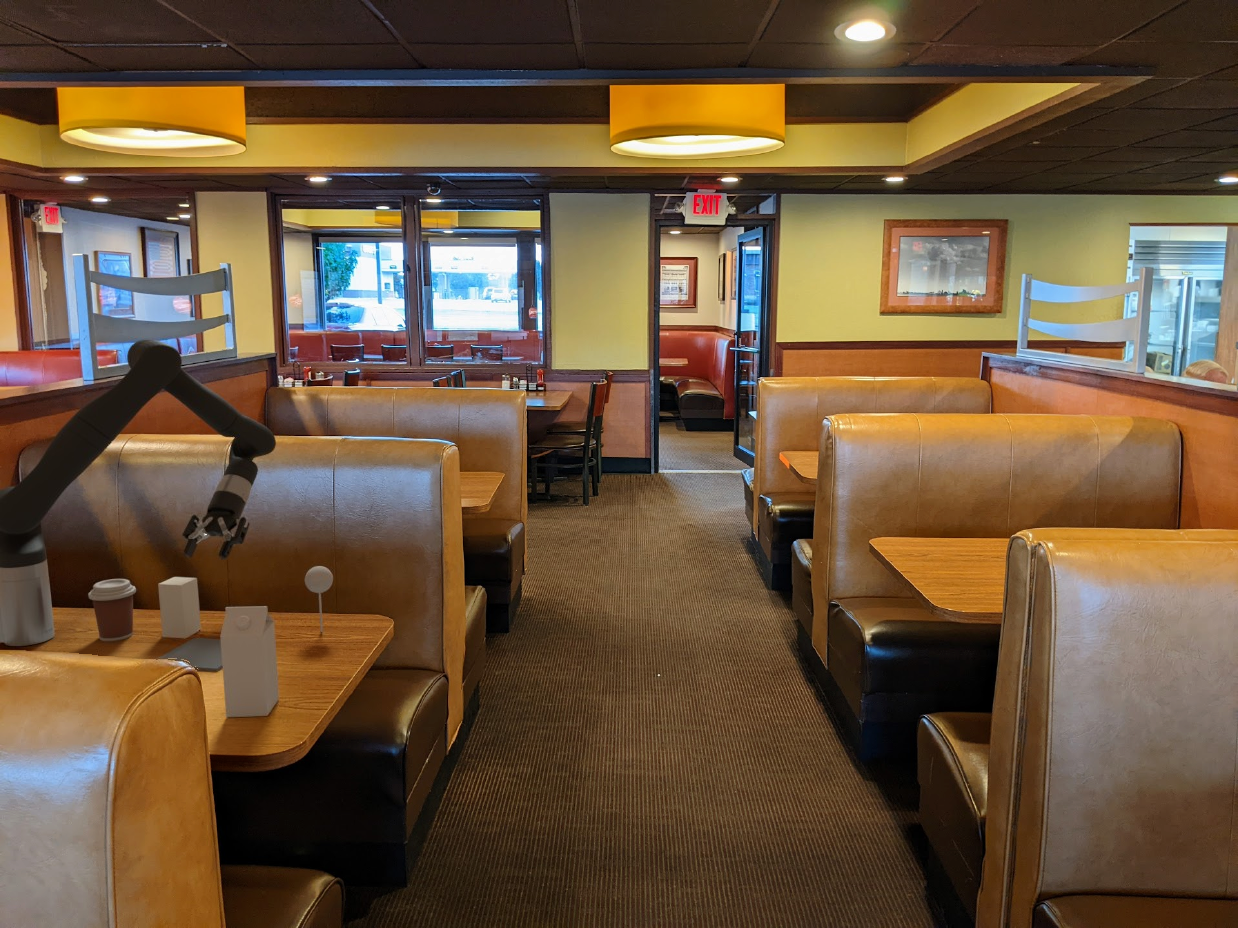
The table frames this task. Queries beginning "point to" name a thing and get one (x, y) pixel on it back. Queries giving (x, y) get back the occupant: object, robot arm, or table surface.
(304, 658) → the table surface
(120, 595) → the coffee cup
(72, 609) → the table surface
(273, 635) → the milk carton
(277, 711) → the table surface
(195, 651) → the mat
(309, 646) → the table surface
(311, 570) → the lollipop
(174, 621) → the block
